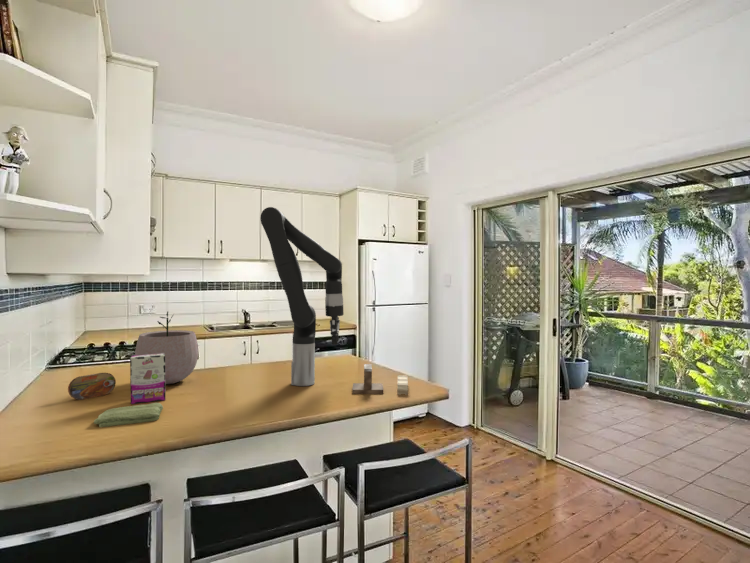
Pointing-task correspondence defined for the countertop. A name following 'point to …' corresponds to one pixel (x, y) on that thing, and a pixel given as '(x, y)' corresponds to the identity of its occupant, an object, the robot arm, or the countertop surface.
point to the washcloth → (129, 415)
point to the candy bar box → (147, 378)
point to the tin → (91, 386)
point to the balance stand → (367, 383)
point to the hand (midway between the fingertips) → (335, 343)
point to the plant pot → (171, 351)
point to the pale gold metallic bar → (402, 385)
